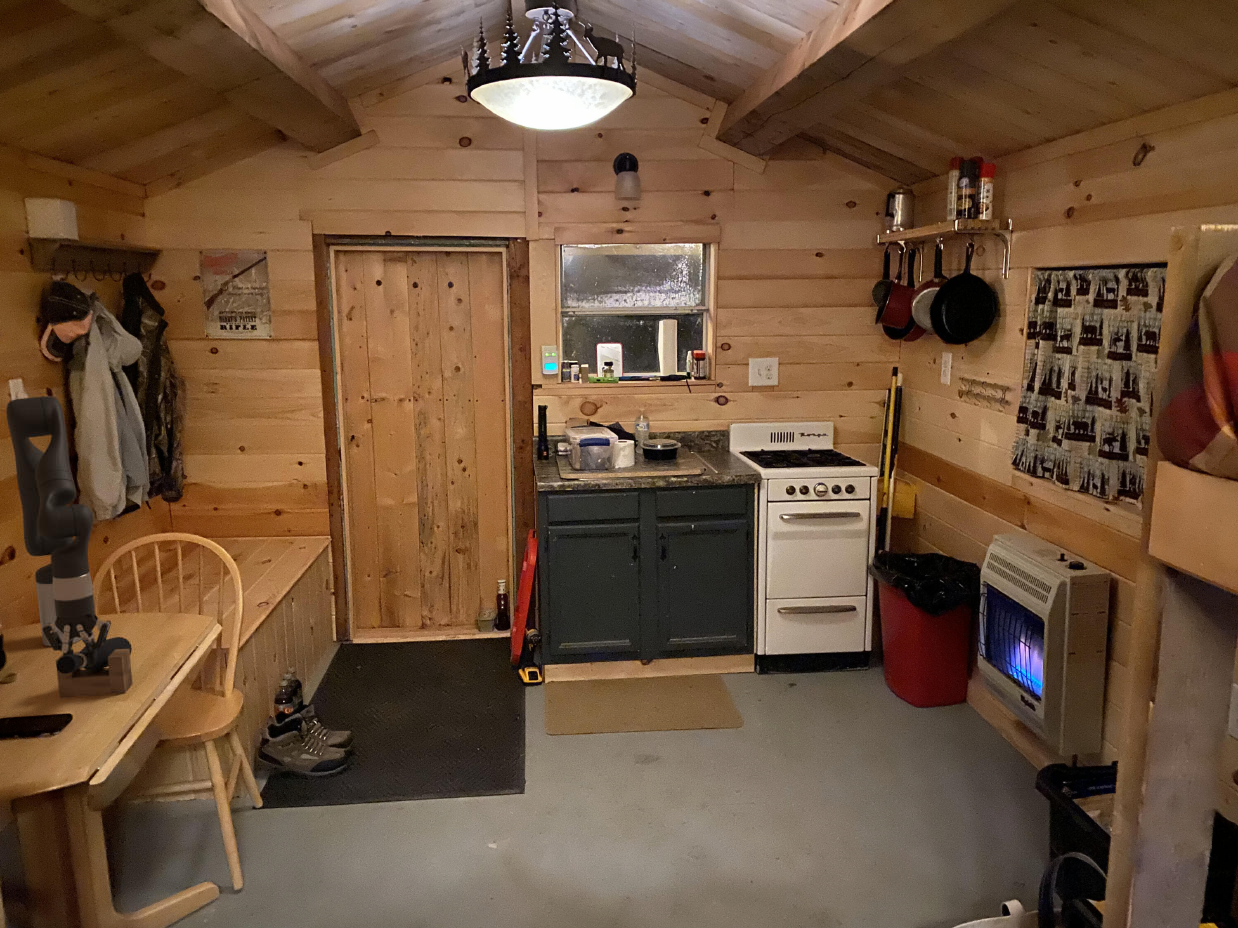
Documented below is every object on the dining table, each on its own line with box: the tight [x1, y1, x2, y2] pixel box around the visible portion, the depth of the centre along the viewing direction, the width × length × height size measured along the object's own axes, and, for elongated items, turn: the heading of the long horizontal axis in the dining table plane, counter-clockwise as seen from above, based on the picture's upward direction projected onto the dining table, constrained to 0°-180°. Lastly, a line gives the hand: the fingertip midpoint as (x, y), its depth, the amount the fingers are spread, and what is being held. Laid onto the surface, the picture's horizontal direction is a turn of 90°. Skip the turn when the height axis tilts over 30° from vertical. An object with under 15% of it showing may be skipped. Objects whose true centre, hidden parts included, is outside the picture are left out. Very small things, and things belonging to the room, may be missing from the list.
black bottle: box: [55, 636, 132, 674], centre depth 211 cm, size 6×6×30 cm
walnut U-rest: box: [55, 649, 134, 698], centre depth 211 cm, size 5×14×9 cm, turn 100°
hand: (81, 665), depth 204 cm, fingers closed on black bottle, 3 cm apart
